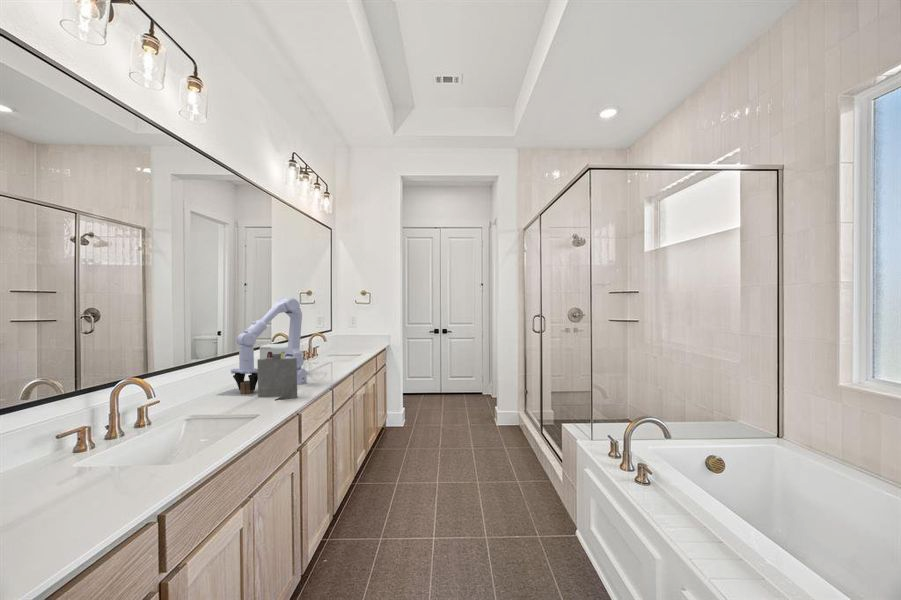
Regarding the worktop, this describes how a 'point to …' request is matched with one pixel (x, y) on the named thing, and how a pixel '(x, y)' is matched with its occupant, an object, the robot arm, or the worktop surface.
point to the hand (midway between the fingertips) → (247, 389)
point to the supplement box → (272, 350)
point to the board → (237, 393)
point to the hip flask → (277, 377)
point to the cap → (245, 387)
